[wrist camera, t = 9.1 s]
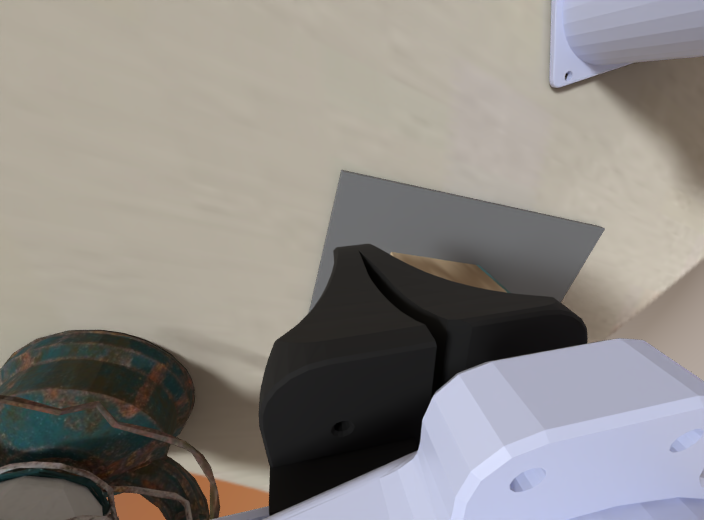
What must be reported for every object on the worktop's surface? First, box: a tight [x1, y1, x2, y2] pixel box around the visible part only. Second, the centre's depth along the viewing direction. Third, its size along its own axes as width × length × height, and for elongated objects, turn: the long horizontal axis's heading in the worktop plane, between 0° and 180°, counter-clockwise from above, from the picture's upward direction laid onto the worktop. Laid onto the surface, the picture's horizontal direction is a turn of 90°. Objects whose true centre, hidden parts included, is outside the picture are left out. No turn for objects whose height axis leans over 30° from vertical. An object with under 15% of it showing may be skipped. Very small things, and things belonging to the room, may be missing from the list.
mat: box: [309, 170, 605, 312], centre depth 26 cm, size 22×14×1 cm, turn 76°
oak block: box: [390, 252, 510, 293], centre depth 23 cm, size 4×4×8 cm
